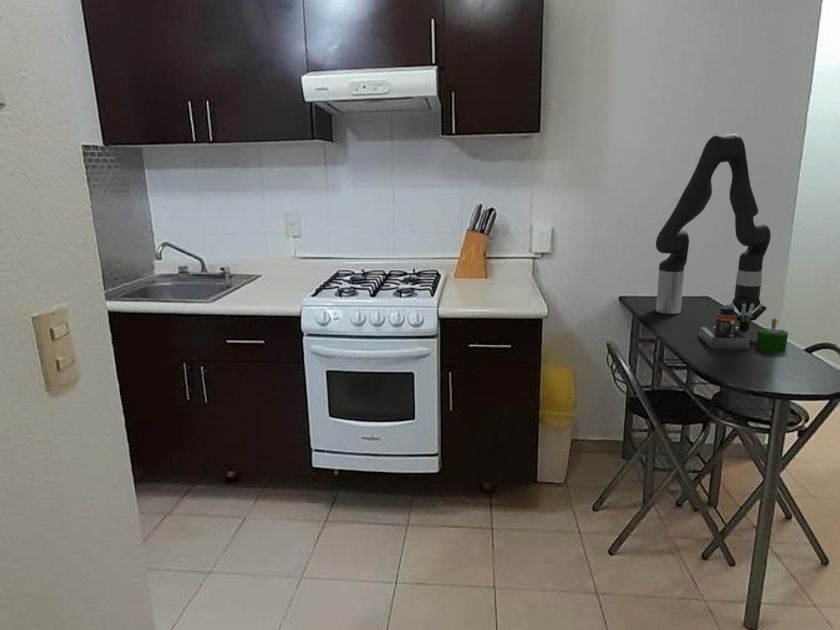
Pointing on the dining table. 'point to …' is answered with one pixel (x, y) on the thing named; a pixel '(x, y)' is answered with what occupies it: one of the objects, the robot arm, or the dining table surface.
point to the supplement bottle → (726, 322)
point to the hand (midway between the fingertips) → (743, 331)
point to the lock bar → (715, 329)
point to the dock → (725, 340)
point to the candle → (772, 338)
